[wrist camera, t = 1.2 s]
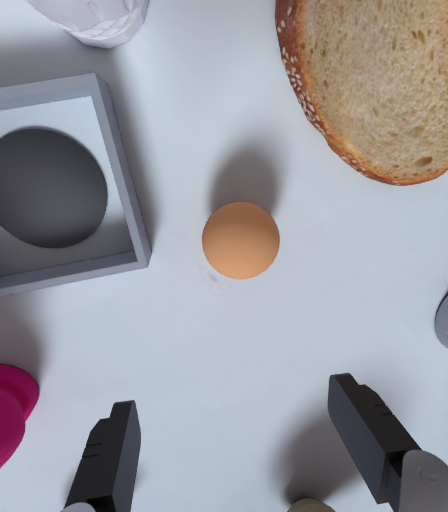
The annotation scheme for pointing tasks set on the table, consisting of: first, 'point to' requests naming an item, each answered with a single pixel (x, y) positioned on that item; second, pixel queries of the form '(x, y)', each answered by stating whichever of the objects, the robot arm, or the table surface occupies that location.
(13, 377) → the pepper mill
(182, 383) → the table surface
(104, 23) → the white cup
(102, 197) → the pad
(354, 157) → the slice of bread
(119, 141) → the corral
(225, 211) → the ball
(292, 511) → the decorative mushroom
